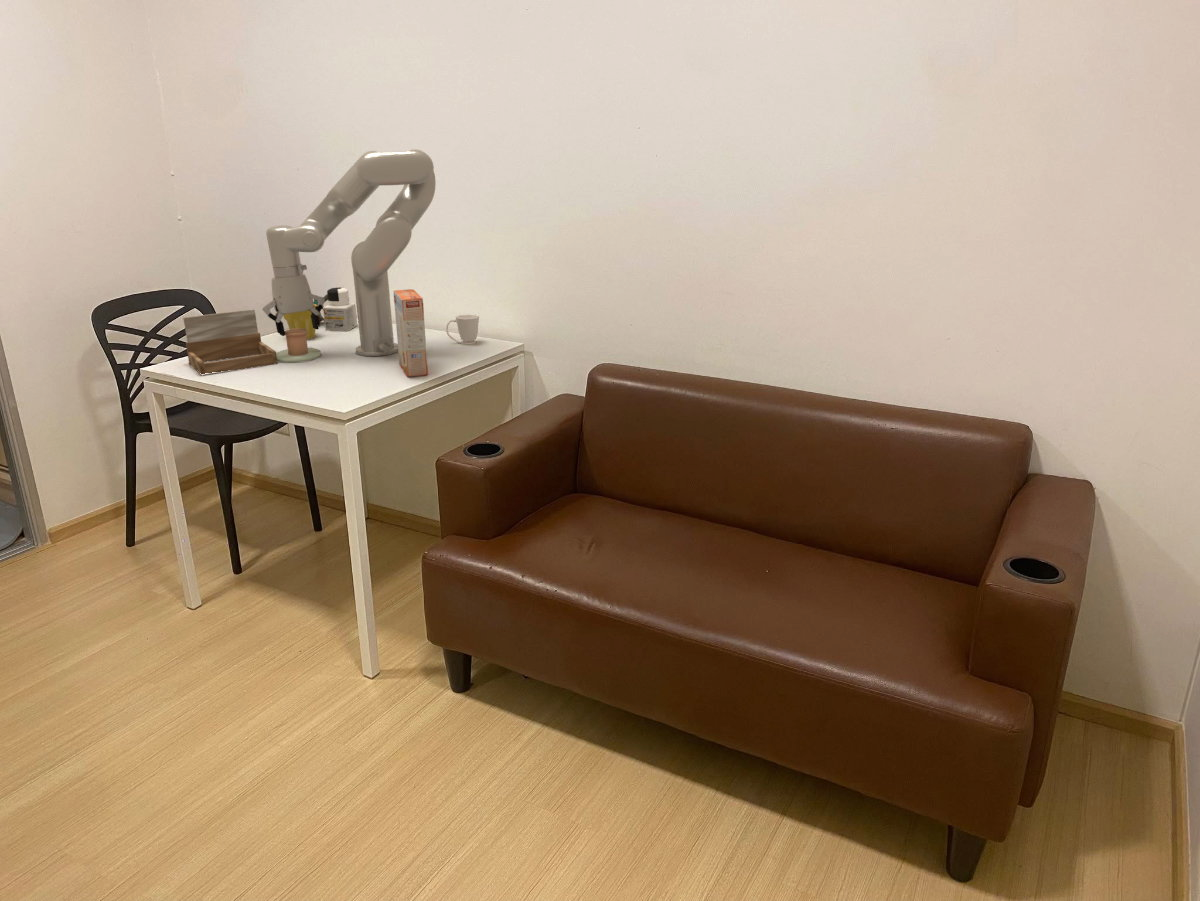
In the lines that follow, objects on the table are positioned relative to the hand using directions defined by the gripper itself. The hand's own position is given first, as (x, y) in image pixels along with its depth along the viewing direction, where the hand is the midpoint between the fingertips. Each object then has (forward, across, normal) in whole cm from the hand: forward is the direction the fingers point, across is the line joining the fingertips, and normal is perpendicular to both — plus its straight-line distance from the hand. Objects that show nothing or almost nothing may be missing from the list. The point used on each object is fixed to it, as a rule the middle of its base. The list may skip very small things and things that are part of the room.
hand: (299, 331), depth 252 cm
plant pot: (+7, -7, -23) cm, 25 cm away
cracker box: (+9, -19, +32) cm, 39 cm away
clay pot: (+6, +1, -1) cm, 6 cm away
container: (+8, -21, -28) cm, 36 cm away
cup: (+10, -44, +13) cm, 47 cm away
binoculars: (+8, -17, -38) cm, 42 cm away
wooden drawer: (+6, +18, -4) cm, 20 cm away
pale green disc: (+7, +2, -1) cm, 7 cm away
